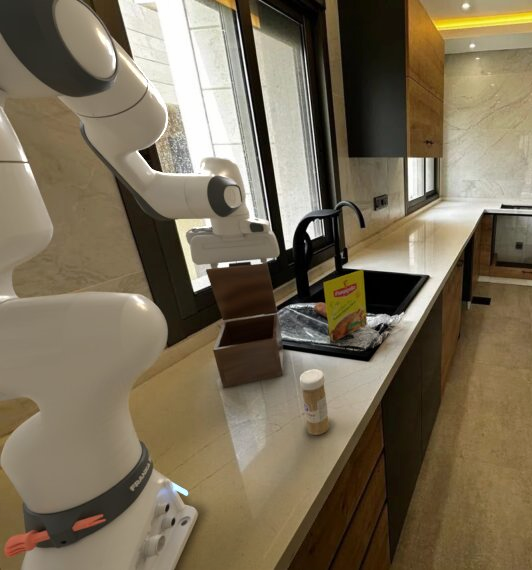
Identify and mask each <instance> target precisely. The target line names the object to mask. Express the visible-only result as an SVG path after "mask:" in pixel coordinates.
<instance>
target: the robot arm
mask: <svg viewBox="0 0 532 570" xmlns="http://www.w3.org/2000/svg"><path fill="white" fill-rule="evenodd" d="M47 98H58V100H60V101H61V102H62V103H63V104H64V105H65V106H66V107H67V108H69V109H70V111H72V113H74V114H75V115H76V116H77V117H78V118H79V124H78V127H79V131H80V134H81V137H82V139H83V140H84V142H85V143H86V145H87V147H89V149H90V150H91V151H92V153H94V155H95V156H96V157H97V158H98V159H99V160H100V161H101V162H102V163H103V165H104V166H105V167H107V169H108V170H109V171H110V172H111V173H112V174H113V175H114V176H115V177H116V178H117V179H118V180H119V182H120V183H121V184H122V185H123V186H124V187H125V188H126V189H127V191H128V192H130V193H131V195H132V196H133V198H134V199H135V201H136V203H137V204H138V206H139V207H140V208H141V210H142V211H143V212H144V213H145V214H146V215H148V216H149V217H151V218H152V219H154V220H157V221H161V222H165V221H176V220H203V219H209V220H210V221H209V222H210V225H211V226H201V227H191V228H190V229H188V230H187V231H186V233H185V238H186V241H187V243H188V245H190V256H191V261H192V262H193V264H195V265H197V266H202V265H203V266H204V265H209V266H210V269H212V268H219V264H224V263H236V262H247V261H254V260H255V261H256V260H260V264H264V263H267V264H268V259H277V258H278V257H279V256H280V247H279V242H278V239H277V237H276V235H275V233H274V231H273V230H272V229H271V223H270V221H269V220H268V219H263V218H260V217H259V218H258V217H254V216H251V215H250V211H249V210H250V209H249V208H248V206H247V203H246V197H247V194H246V189H245V184H244V181H243V177H242V173H241V171H240V167H239V166H238V164H237V162H236V161H235V160H232V159H231V158H227V157H220V156H219V157H218V156H205V157H203V158H201V159H200V160H199V170H198V171H197V172H196V173H166V172H161V171H157V170H154V169H152V167H150V165H149V164H148V162H147V161H146V160H145V159H144V157H143V156H142V155H141V154H140V153H139V151H142V150H145V149H147V148H150V147H151V146H153V145H155V143H156V142H158V140H159V139H160V138H162V136H163V135H164V133H165V131H166V129H167V126H168V120H169V119H168V118H169V117H168V109H167V106H166V104H165V102H164V100H163V98H162V97H161V94H160V93H159V91H158V90H157V89H156V88H155V86H154V85H153V83H152V82H151V81H150V80H149V78H148V77H147V76H146V74H145V73H144V71H142V69H141V68H140V67H139V66H138V64H137V63H136V62H135V61H134V60H133V58H132V57H131V56H130V55H129V54H128V53H127V52H126V50H125V49H124V48H123V47H122V45H120V44H119V43H118V42H117V40H115V38H114V37H113V36H112V35H111V33H110V31H109V29H108V28H107V26H106V24H105V23H104V22H103V20H102V19H101V17H100V16H99V15H98V14H97V13H96V12H95V11H94V9H93V8H92V7H91V6H90V5H89V4H88V3H86V1H84V0H0V402H3V401H4V402H5V401H9V400H14V399H26V398H27V399H29V400H31V401H33V402H34V403H35V404H36V405H37V407H38V409H39V411H37V412H36V413H35V414H33V415H32V416H31V417H29V418H28V419H26V420H25V421H24V422H22V423H21V424H20V425H19V426H17V428H15V429H14V430H13V432H12V433H11V434H10V435H9V437H8V438H7V439H6V441H5V443H4V445H3V449H2V451H1V454H0V467H1V468H2V470H3V471H4V473H5V474H6V476H7V478H8V480H9V481H10V482H11V484H12V485H13V487H14V489H15V490H16V492H17V493H18V495H19V496H20V498H21V500H22V504H21V505H22V516H21V517H22V518H21V519H22V523H23V524H24V531H25V533H20V534H15V535H12V536H11V537H9V538H8V539H7V541H6V543H5V545H4V547H3V549H4V550H3V553H4V556H5V557H6V558H12V557H15V556H18V555H19V554H22V553H25V554H24V557H23V560H22V564H21V567H20V570H175V569H176V567H177V565H178V562H179V560H180V558H181V556H182V553H183V551H184V549H185V547H186V544H187V542H188V540H189V538H190V536H191V534H192V531H193V529H194V527H195V524H196V521H197V520H198V518H199V511H198V510H197V508H195V507H194V506H192V505H187V504H185V503H184V501H183V499H182V497H181V496H180V494H183V495H184V496H188V495H189V492H188V490H186V489H185V488H182V487H181V486H179V485H178V484H176V483H175V482H173V481H172V480H170V478H169V477H167V476H165V475H163V474H162V473H160V472H159V471H158V470H156V469H155V468H154V462H153V460H152V455H151V453H150V450H149V449H148V447H147V446H146V444H145V443H144V441H142V440H140V439H139V437H138V434H137V431H136V429H135V426H134V423H133V419H132V417H131V412H130V408H129V400H130V394H131V392H132V389H133V387H134V385H135V384H136V382H137V381H138V379H139V378H140V377H141V376H142V375H143V374H144V373H146V372H147V370H149V369H150V368H151V367H152V366H153V365H154V364H155V363H156V362H157V361H158V360H159V358H160V357H161V356H162V354H163V352H164V350H165V348H166V346H167V343H168V336H169V335H168V334H169V328H168V323H167V320H166V317H165V315H164V314H163V312H162V311H161V309H160V308H159V307H158V305H156V303H154V302H153V301H152V300H151V299H149V298H148V297H146V296H145V295H143V294H140V293H131V292H130V293H129V292H117V291H116V292H113V291H94V290H93V291H92V290H91V291H82V292H72V293H71V292H70V293H60V294H51V295H50V294H49V295H41V296H29V297H19V296H18V295H17V294H16V292H15V290H14V286H13V274H14V270H15V268H16V267H19V266H20V265H22V264H24V263H26V262H28V261H30V260H32V259H33V258H35V257H37V256H38V255H40V254H41V253H42V252H43V251H44V250H46V249H47V247H48V246H49V245H50V243H51V241H52V238H53V236H54V225H53V222H52V219H51V217H50V214H49V211H48V209H47V207H46V203H45V202H44V201H45V200H44V199H43V196H42V194H41V191H40V189H39V186H38V184H37V181H36V178H35V176H34V174H33V171H32V168H31V166H30V163H28V162H29V161H28V158H27V156H26V153H25V150H24V148H23V145H22V144H21V141H20V139H19V137H18V135H17V132H16V131H15V129H14V126H13V125H12V123H11V121H10V119H9V118H8V116H7V114H6V112H5V102H6V99H14V100H15V99H17V100H19V99H22V100H23V99H47ZM179 493H180V494H179Z"/></svg>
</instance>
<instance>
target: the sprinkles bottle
mask: <svg viewBox="0 0 532 570" xmlns="http://www.w3.org/2000/svg"><path fill="white" fill-rule="evenodd" d="M299 385H300V388H301V391H302V398H303V407H304V413H305V414H304V415H305V419H306V426H307V427H306V429H307V432H308V434H309V435H312V436H319V435H322V434H324V433H326V432H327V431H328V429H329V428H330V421H329V415H328V414H329V412H328V404H327V403H328V402H327V395H326V389H325V375H324V371H322V370H320V369H317V368H316V369H314V368H313V369H308V370H305V371H304V372H302V374H300V376H299Z"/></svg>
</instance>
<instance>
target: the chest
mask: <svg viewBox="0 0 532 570" xmlns="http://www.w3.org/2000/svg"><path fill="white" fill-rule="evenodd" d="M281 331H282V329H281V325H280V319H279V314H278V312H277V313H270V314H263V315H257V316H250V317H243V318H236V319H229V320H223V322H222V324H221V326H220V330H219V332H218V336H217V338H216V342H214V343H215V344H214V346H213V349H212V352H213V355H214V359H215V363H216V366H217V370H218V374H219V377H220V382H221V385H222V388H227V387H228V388H229V387H233V386H239V385H242V384H243V385H244V384H246V383H247V384H248V383H252V382H256V381H257V382H258V381H261V380H262V381H263V380H266V379H271V378H275V377H281V376H283V375H284V342H283V335H282V332H281Z"/></svg>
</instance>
